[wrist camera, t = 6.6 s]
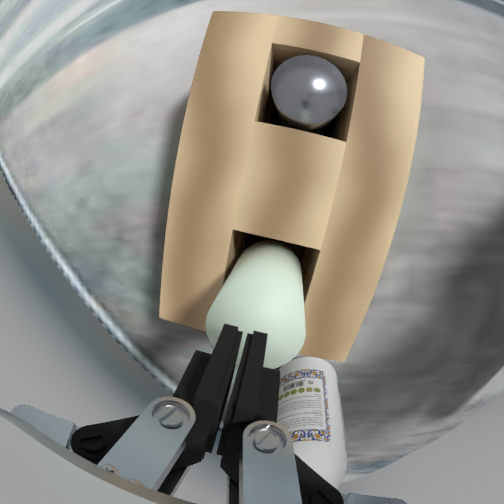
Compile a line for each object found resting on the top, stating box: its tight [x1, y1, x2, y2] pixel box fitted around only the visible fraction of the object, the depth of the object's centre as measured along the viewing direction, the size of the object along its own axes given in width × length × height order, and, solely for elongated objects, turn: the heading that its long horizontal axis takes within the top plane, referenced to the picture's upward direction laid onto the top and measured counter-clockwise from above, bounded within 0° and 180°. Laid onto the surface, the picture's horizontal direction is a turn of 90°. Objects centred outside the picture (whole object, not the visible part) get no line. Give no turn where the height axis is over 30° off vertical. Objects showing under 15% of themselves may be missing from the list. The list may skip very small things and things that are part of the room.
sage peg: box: [206, 240, 306, 369], centre depth 15 cm, size 4×4×8 cm
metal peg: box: [271, 55, 347, 134], centre depth 17 cm, size 4×4×8 cm
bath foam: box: [277, 356, 347, 489], centre depth 19 cm, size 7×7×20 cm
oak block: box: [159, 11, 425, 362], centre depth 19 cm, size 14×22×8 cm, turn 169°
